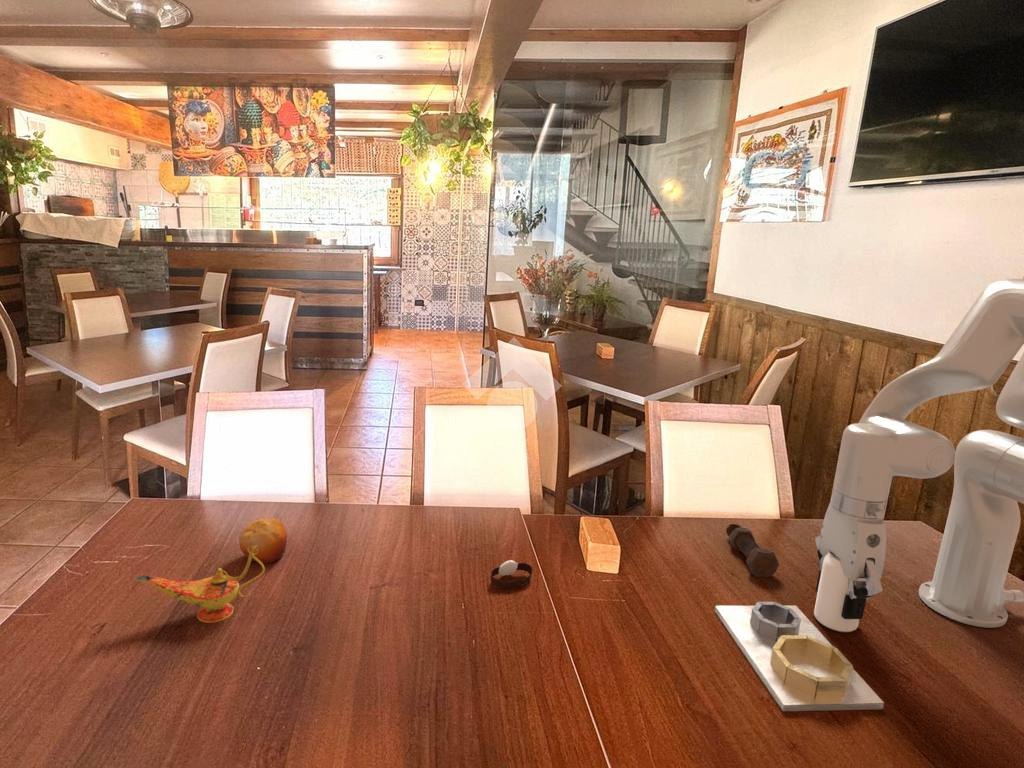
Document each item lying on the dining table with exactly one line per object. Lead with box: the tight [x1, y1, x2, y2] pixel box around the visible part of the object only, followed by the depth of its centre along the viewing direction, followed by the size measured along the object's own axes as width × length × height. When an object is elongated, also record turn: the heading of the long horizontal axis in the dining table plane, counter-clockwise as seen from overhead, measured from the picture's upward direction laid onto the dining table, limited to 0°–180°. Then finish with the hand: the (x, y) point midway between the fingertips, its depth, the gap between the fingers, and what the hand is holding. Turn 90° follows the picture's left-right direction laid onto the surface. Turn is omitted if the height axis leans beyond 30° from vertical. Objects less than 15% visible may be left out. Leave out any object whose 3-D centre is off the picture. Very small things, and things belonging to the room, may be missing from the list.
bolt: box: [725, 523, 780, 578], centre depth 120 cm, size 6×5×15 cm
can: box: [813, 550, 864, 633], centre depth 100 cm, size 6×6×12 cm
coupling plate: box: [714, 601, 885, 712], centre depth 92 cm, size 14×22×4 cm, turn 5°
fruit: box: [238, 517, 288, 564], centre depth 111 cm, size 8×8×8 cm
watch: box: [490, 559, 534, 589], centre depth 107 cm, size 8×5×4 cm, turn 116°
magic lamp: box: [134, 545, 266, 624], centre depth 93 cm, size 7×18×11 cm, turn 103°
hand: (838, 603), depth 100 cm, fingers closed on can, 6 cm apart
